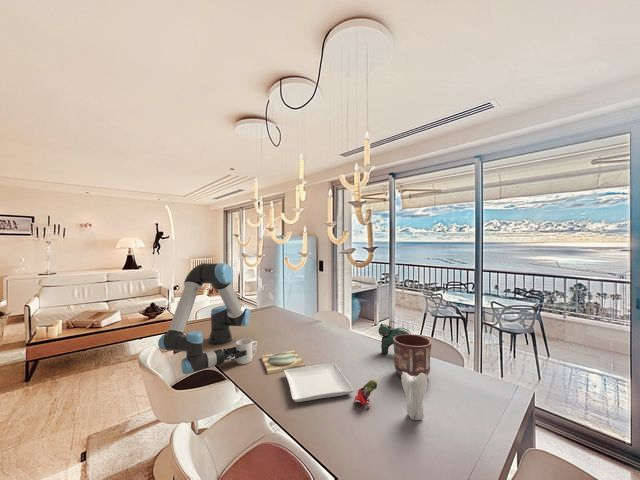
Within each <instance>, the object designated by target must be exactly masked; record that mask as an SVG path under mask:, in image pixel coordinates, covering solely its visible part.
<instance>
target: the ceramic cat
mask: <svg viewBox="0 0 640 480" xmlns="http://www.w3.org/2000/svg"><path fill="white" fill-rule="evenodd" d="M392 322H393V323H395V324H397V323H396V322H395V320H391V321H389V323H388V324H386V323H385V324H383V323H380V325H379V328H378V329H377V330H378V334H379V335H380V336H381V337H382V338H381V340H380V341H381V355H385V356H386V355H388V354H389V348H390V347H391V346H392V345H394V344H393V338H394V337H395V336H397V335H402V334H412V333H411V331H410V330H408V329H407V328H404V327H397V328H396V327H395V328H392V327H391V323H392Z"/></svg>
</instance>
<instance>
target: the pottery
mask: <svg viewBox="0 0 640 480" xmlns="http://www.w3.org/2000/svg"><path fill="white" fill-rule="evenodd" d="M392 345H393V353H394V354H393V355H394V356H393V359H394V362H393V363H394V369H395V371H396V373H397V374H398V375H399V376H400V377H401V375H402V374H403V373H402V372H405V373H406V372H407V373H408V374H409V375H410V376H414V377H416V376H418V375H419V374H420V373H424V374H425V375H426V376H427V377H428V376H429V375H430V374H431V373H430V372H431V352H432V351H431V350H432V340H431V339H429V338H427V337H424V336H422V335H418V334H412V333H411V334H410V333H409V334H402V335H397V336H395V337H394V338H393V344H392Z"/></svg>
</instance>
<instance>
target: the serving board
mask: <svg viewBox="0 0 640 480" xmlns="http://www.w3.org/2000/svg"><path fill="white" fill-rule="evenodd" d="M260 359H261V362H262V363H263V366H264V368H265V372H266V373H267V375H269V374H274V373H275V374H276V373H281V372H284V370H287V369H294V368H300V367H306V363H305V362H304V360H303V359H302V358H301V357H300V356H299V354H298V353H297V352H296V350H288V351H282V352H277V353H271V354H264V355H261V356H260Z"/></svg>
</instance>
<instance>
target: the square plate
mask: <svg viewBox="0 0 640 480" xmlns="http://www.w3.org/2000/svg"><path fill="white" fill-rule="evenodd" d="M283 373H284V376H285V377H286V380H287V383H288V386H289V390H290V395H291V398H292V400H293V401H294V402H295V403H299V402H300V403H302V402H308V401H314V400H319V399H326V398H333V397H340V396H346V395H350V394H352V393H354V391H355V388H354V387H353V386H352V384H351V383H350V382H349V381H348V379H347V377H345V375H344V374H343V373H342V371H341V370H340V368H339V367H338V366H337V364H336V363H325V364H316V365H308V366H305V367H300V368H294V369H287V370H284V371H283Z"/></svg>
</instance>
